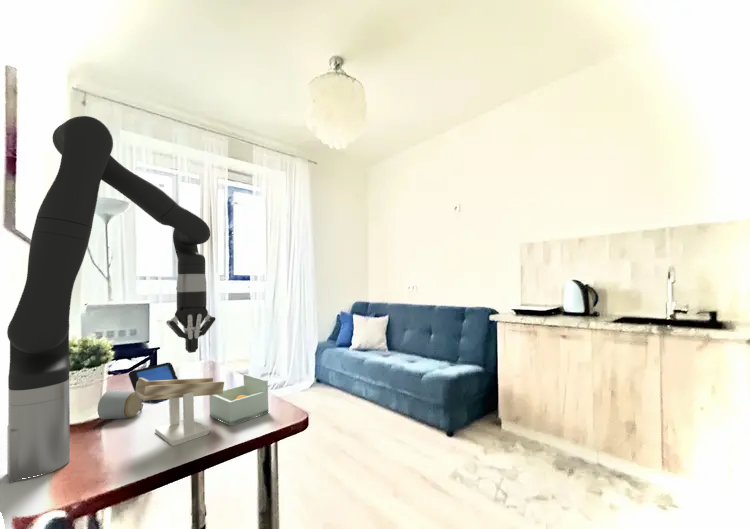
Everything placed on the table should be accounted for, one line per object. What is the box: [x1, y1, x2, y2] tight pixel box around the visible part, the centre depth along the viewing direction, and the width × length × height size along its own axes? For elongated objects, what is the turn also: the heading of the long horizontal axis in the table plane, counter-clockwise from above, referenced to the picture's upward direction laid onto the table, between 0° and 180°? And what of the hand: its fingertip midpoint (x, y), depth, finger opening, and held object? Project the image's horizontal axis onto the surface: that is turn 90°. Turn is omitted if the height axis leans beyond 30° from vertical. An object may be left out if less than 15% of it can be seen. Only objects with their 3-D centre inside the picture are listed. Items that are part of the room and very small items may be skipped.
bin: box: [209, 373, 270, 427], centre depth 99 cm, size 11×12×9 cm
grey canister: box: [97, 389, 144, 420], centre depth 102 cm, size 11×8×8 cm
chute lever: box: [134, 377, 225, 402], centre depth 91 cm, size 18×16×4 cm
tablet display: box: [128, 362, 179, 404], centre depth 121 cm, size 16×13×9 cm
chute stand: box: [154, 392, 209, 447], centre depth 88 cm, size 8×12×10 cm, turn 48°
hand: (191, 352), depth 100 cm, fingers closed
